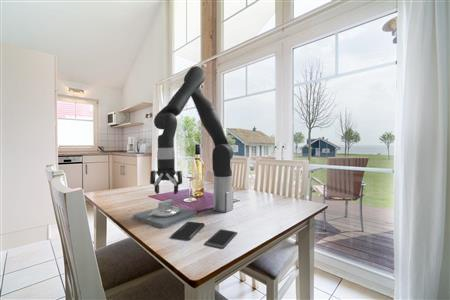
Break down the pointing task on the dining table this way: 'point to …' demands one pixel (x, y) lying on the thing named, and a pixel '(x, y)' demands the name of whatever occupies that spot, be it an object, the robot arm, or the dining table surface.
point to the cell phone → (220, 239)
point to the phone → (188, 231)
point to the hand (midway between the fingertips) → (166, 193)
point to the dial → (165, 209)
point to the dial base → (164, 221)
